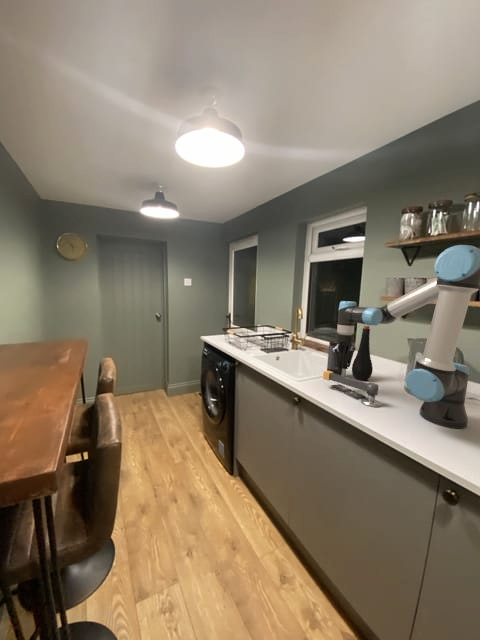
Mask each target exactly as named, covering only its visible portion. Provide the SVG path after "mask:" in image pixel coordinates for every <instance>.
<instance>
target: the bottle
mask: <svg viewBox="0 0 480 640" xmlns="http://www.w3.org/2000/svg"><path fill="white" fill-rule="evenodd" d="M370 327H371V325H363V328H362V329H361V330H362V332H361V338H360V343H359V346H358V349H357V354H356V355H355V358H354V360H353V362H352V364H351V365H352V366H351V372H352V376H353V379H355V380H358V381H362V382H368V381H369V379H370V378H371V377H372V375H373V371H374V370H373V367H374V366H373V363H372V359H371V352H370V334H371V333H370V331H371V329H370Z"/></svg>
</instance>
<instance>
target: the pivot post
mask: <svg viewBox="0 0 480 640" xmlns="http://www.w3.org/2000/svg"><path fill="white" fill-rule="evenodd" d="M367 395H368V396H367V398H362V399H360V403H361V404H363V405H365V406H367V407H371V408H380V407H382V402H381V401H380V400H377V399H376V395H370V394H367Z"/></svg>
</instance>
